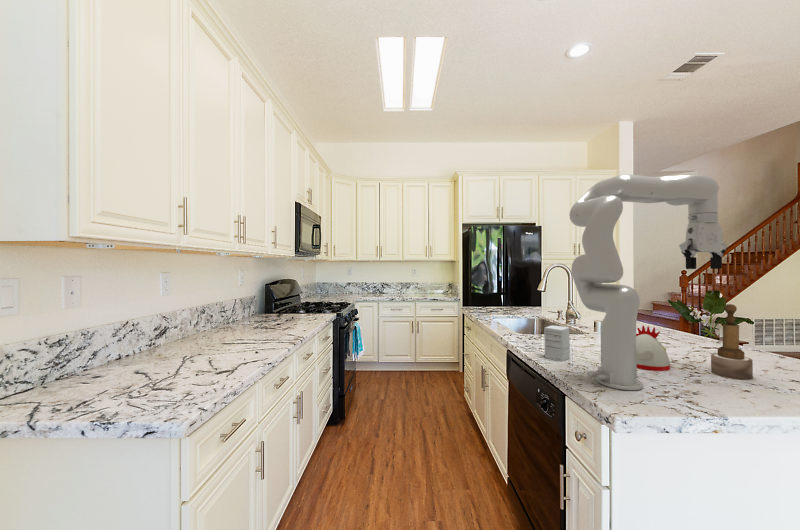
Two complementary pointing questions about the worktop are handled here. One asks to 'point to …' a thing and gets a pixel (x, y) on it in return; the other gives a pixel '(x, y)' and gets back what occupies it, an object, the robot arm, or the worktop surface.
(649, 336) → the kitchen timer
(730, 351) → the brown wooden turned piece
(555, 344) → the supplement box
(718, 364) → the display pedestal
